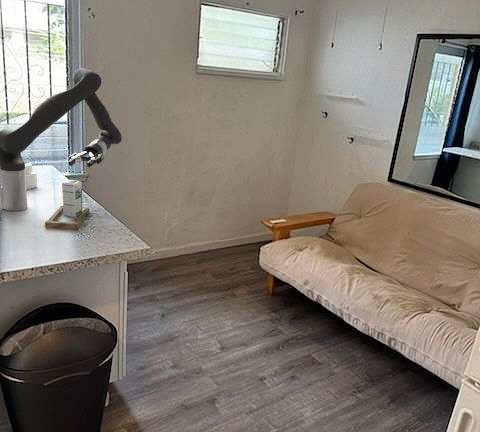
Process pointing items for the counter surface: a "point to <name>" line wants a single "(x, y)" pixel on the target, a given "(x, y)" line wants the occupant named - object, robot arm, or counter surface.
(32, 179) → the medicine bottle
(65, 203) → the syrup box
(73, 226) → the open wooden frame
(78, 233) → the counter surface
